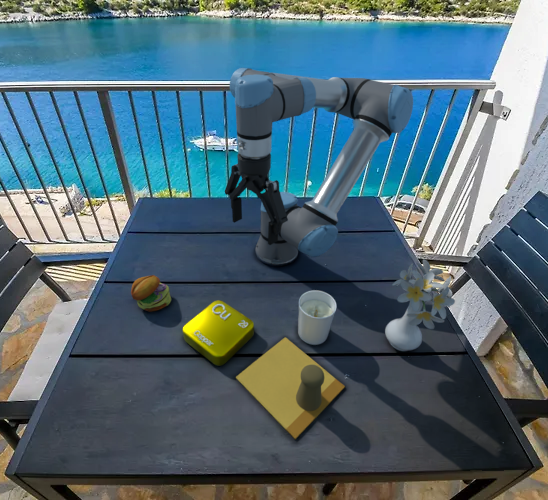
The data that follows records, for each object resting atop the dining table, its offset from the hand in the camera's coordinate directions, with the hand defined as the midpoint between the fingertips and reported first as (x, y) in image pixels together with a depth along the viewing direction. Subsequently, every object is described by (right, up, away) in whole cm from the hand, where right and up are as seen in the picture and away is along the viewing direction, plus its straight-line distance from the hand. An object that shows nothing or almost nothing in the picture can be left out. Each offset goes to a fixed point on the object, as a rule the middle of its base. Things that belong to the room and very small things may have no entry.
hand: (254, 230), depth 91 cm
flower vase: (+40, -31, +4) cm, 51 cm away
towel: (+9, -38, -5) cm, 39 cm away
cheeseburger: (-31, -21, +17) cm, 41 cm away
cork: (+13, -40, -8) cm, 43 cm away
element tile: (-10, -29, +7) cm, 31 cm away
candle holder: (+16, -29, +7) cm, 34 cm away
